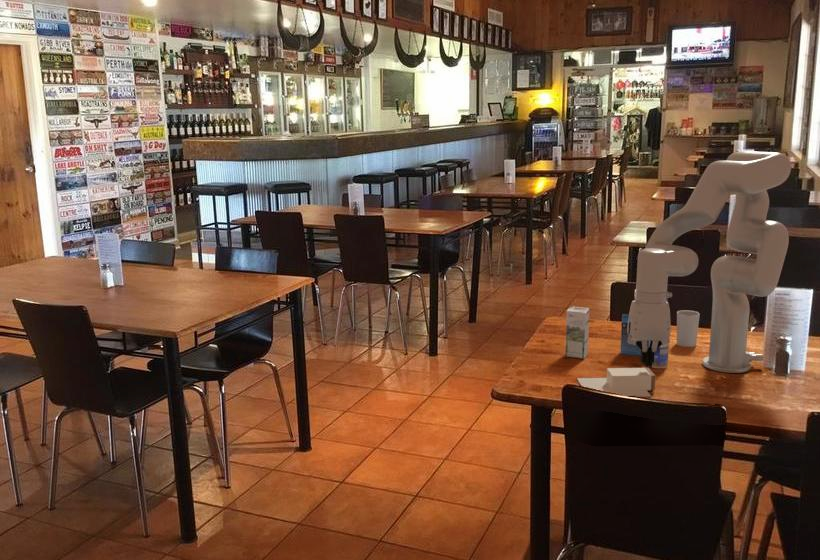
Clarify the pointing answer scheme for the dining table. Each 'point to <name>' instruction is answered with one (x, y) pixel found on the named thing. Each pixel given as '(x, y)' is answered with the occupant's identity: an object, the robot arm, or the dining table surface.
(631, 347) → the label tape box
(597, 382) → the felt mat
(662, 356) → the pill bottle
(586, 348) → the syrup box
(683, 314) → the drinking glass
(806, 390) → the dining table surface
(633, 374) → the tall block
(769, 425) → the dining table surface
